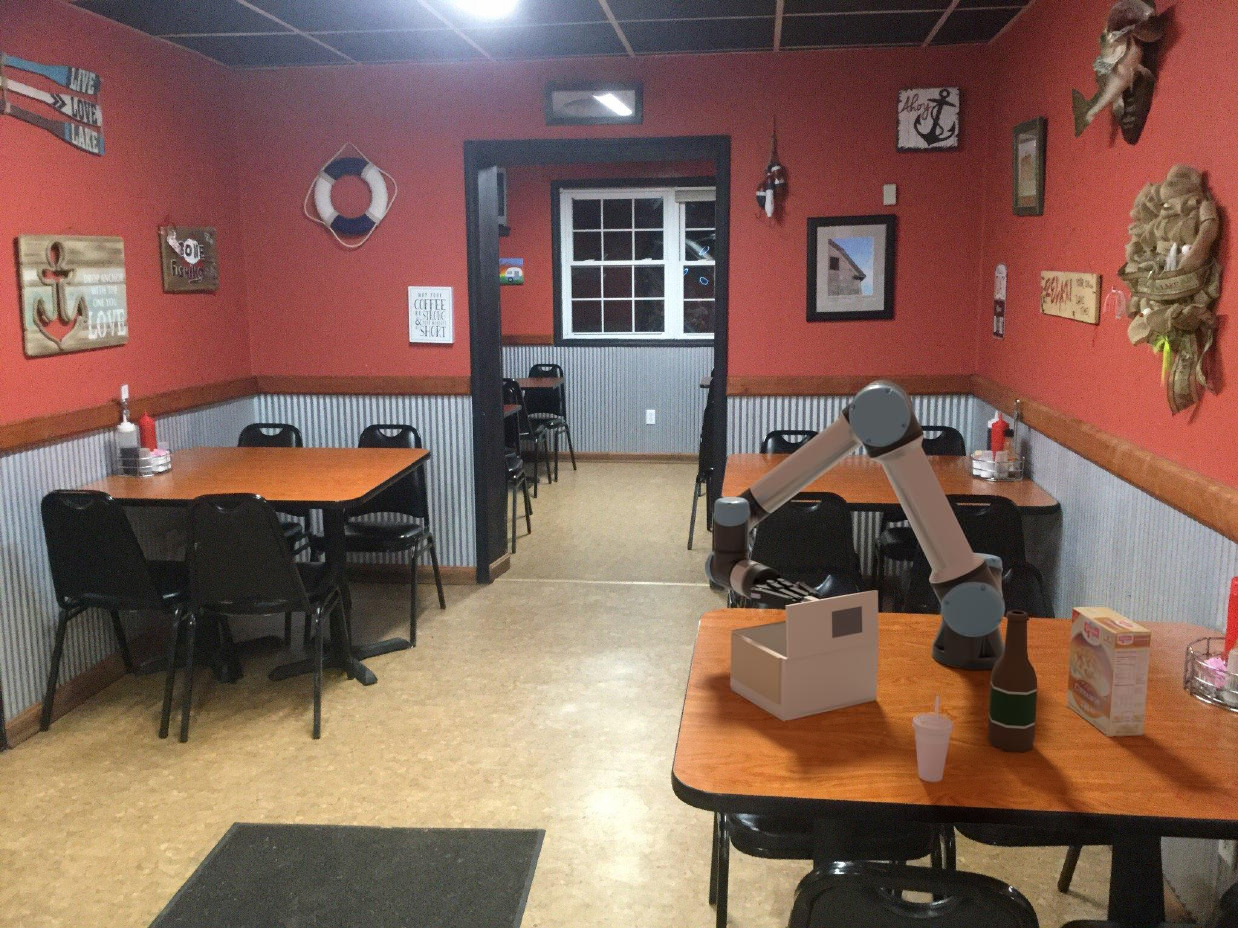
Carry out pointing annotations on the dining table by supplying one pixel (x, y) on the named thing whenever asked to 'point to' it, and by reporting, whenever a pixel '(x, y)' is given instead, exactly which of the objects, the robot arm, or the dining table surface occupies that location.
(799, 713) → the carton
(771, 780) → the dining table surface
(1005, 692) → the beer bottle
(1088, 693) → the coffeecake box
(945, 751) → the smoothie
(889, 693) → the dining table surface
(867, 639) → the far flap
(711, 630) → the dining table surface
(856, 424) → the robot arm
